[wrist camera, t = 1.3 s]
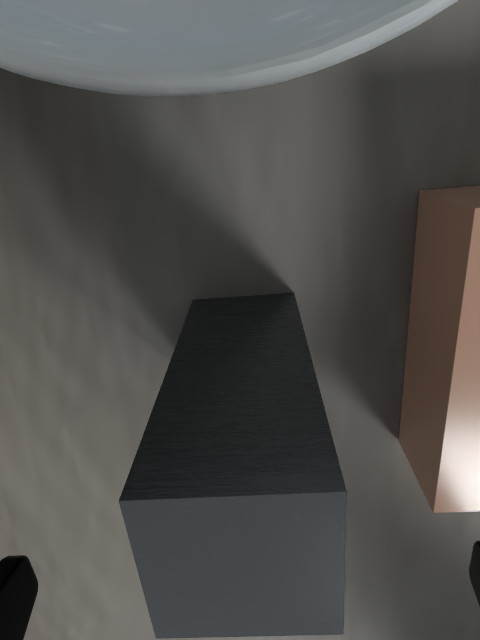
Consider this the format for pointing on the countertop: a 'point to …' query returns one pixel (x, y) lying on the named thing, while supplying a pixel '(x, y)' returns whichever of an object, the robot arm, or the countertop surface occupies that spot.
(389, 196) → the countertop surface
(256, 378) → the tall grey square pillar
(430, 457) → the orange square socket block
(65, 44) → the serving bowl
